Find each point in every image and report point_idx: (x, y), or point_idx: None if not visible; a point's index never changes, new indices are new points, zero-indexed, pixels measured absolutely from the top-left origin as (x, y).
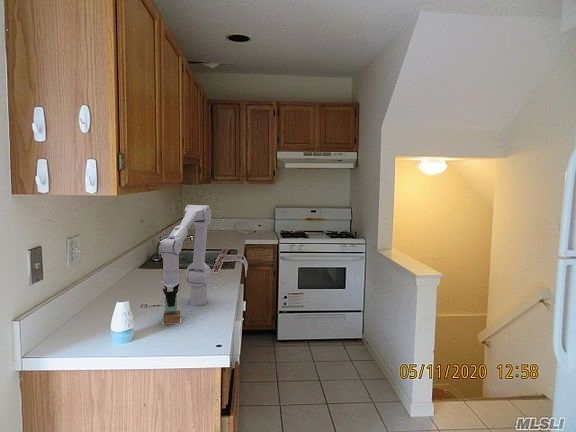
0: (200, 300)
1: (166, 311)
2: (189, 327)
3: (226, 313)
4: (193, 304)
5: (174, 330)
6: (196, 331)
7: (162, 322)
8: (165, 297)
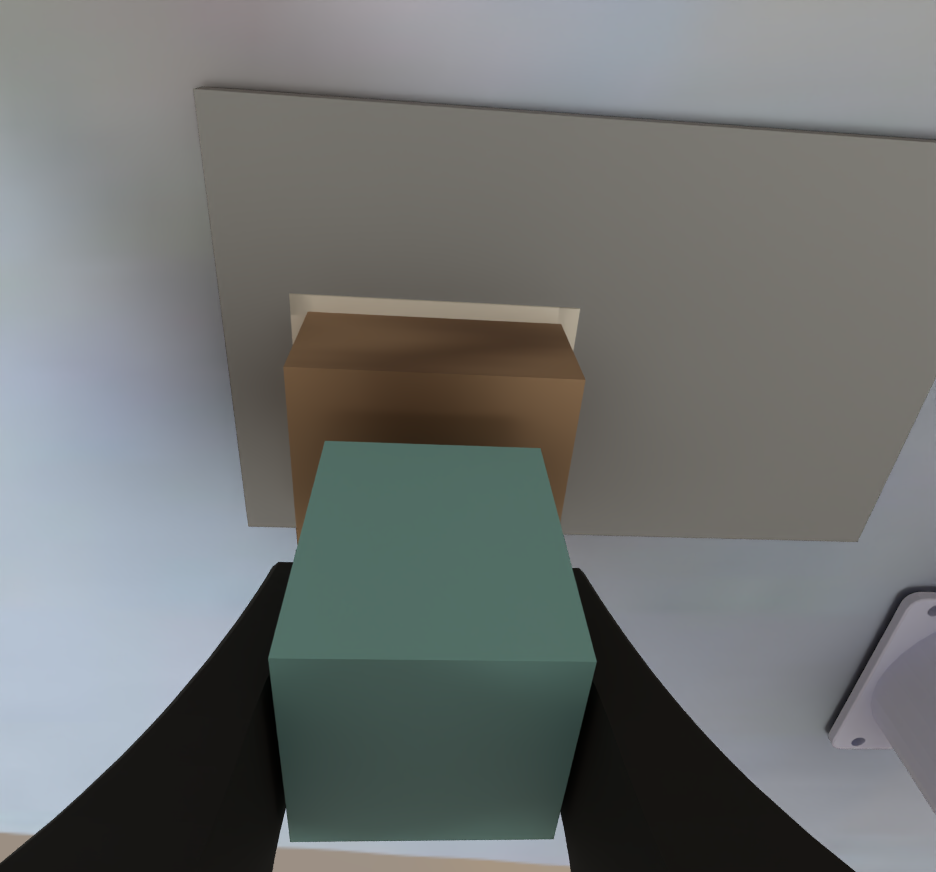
0: (911, 754)
1: (536, 415)
2: (231, 587)
3: (559, 838)
4: (929, 652)
5: (137, 442)
6: (105, 643)
7: (374, 298)
8: (388, 663)
